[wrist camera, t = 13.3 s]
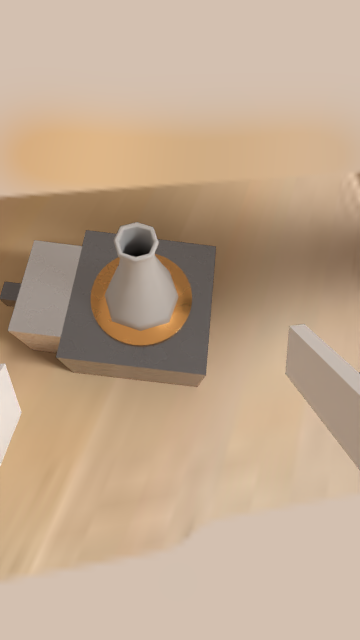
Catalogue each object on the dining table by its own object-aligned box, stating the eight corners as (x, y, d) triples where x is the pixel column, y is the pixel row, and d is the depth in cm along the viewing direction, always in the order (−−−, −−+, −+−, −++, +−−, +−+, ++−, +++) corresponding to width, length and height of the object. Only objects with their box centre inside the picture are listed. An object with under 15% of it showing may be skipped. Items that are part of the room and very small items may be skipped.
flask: (107, 263, 35) (89, 196, 25) (178, 265, 35) (186, 201, 26) (101, 331, 32) (79, 284, 23) (178, 332, 33) (186, 288, 23)
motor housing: (207, 276, 43) (216, 244, 36) (197, 386, 39) (206, 374, 32) (33, 254, 43) (9, 218, 36) (1, 363, 38) (-34, 346, 31)
